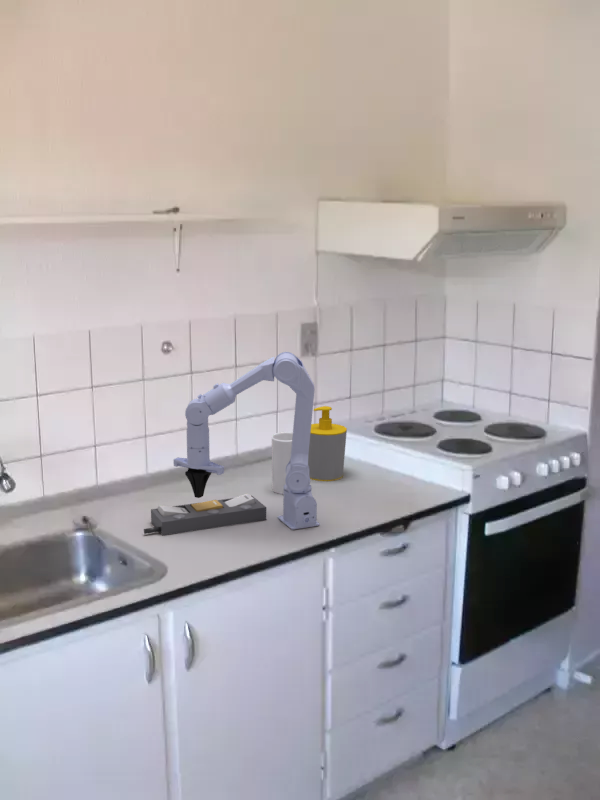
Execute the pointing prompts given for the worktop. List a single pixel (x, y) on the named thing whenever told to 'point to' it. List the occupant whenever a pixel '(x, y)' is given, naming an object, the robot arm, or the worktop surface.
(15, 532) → the worktop surface
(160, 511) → the block
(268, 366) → the robot arm
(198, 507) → the rocker mid
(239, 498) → the rocker
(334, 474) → the soap bottle
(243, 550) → the worktop surface
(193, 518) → the power strip
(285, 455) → the cup
